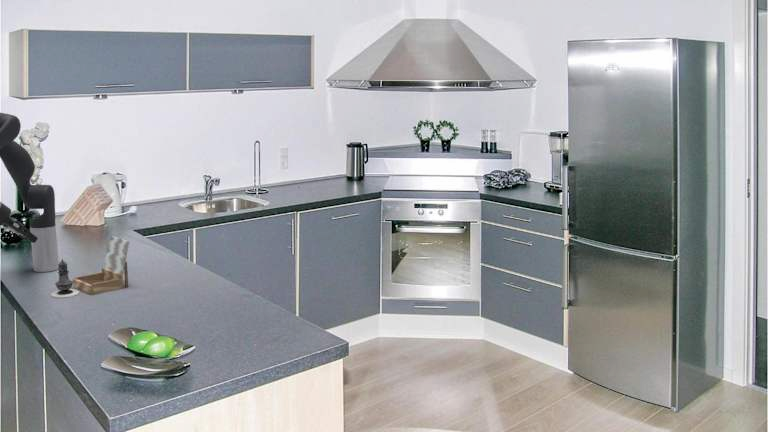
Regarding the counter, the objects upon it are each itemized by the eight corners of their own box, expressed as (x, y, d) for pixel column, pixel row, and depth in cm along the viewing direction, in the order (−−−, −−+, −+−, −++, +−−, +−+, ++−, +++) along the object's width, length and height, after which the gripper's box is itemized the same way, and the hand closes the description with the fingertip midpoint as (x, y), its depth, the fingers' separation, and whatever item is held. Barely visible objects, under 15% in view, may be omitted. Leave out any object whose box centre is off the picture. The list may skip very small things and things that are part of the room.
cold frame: (73, 287, 295) (69, 241, 292) (113, 279, 306) (110, 235, 303) (91, 294, 285) (87, 247, 282) (132, 286, 296) (129, 240, 293)
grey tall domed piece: (55, 295, 282) (52, 261, 280) (56, 291, 288) (54, 257, 286) (73, 294, 284) (70, 260, 282) (74, 289, 289) (72, 256, 287)
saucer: (47, 294, 286) (47, 292, 286) (72, 289, 292) (72, 287, 292) (58, 299, 280) (58, 297, 280) (83, 294, 286) (83, 292, 286)
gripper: (7, 203, 263) (46, 233, 273) (-9, 198, 273) (29, 226, 283) (-8, 222, 260) (32, 251, 270) (-24, 216, 270) (15, 244, 280)
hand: (30, 238), depth 277 cm, fingers open, 8 cm apart
